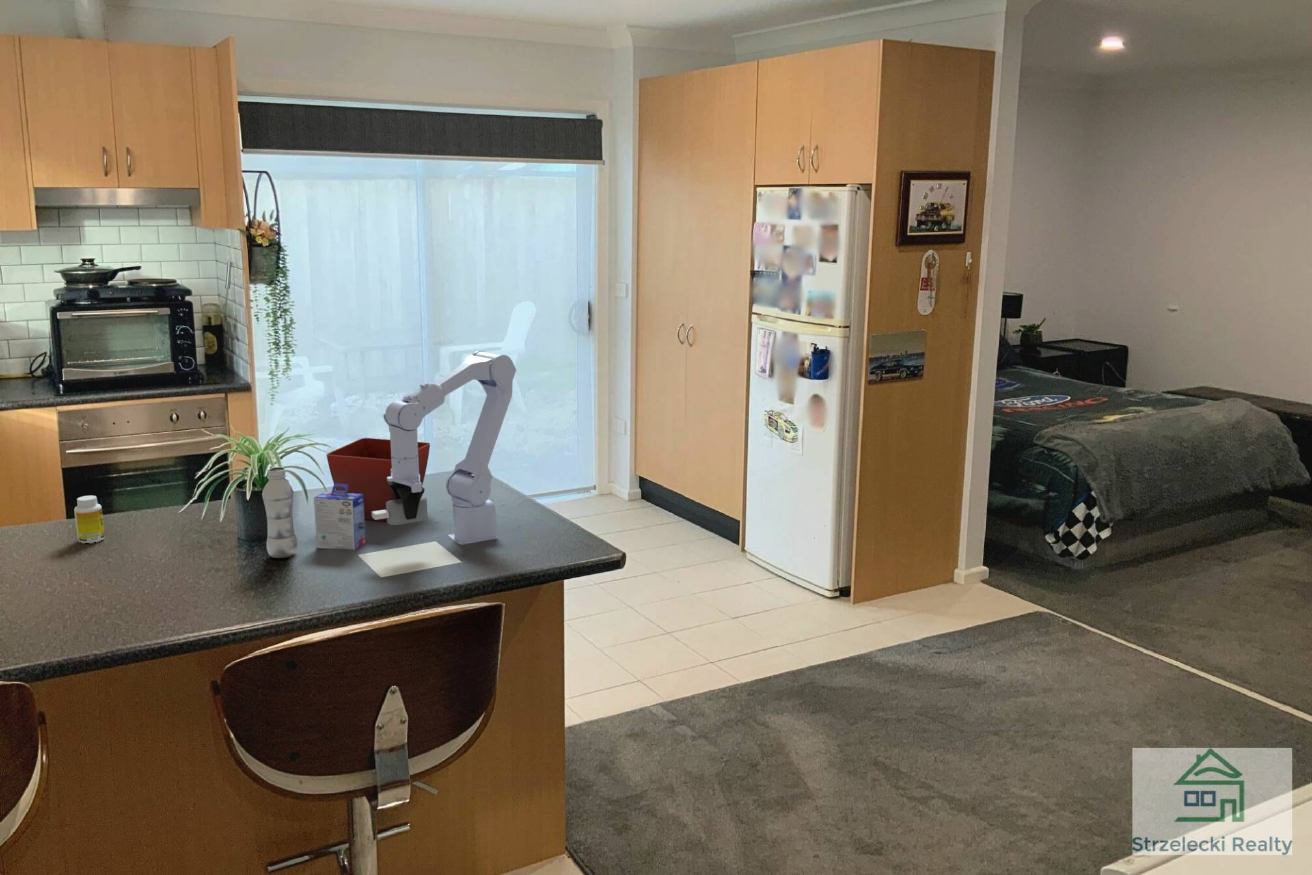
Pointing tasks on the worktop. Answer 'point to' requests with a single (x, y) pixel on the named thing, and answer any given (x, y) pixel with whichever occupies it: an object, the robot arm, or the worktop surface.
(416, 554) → the mat
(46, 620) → the worktop surface
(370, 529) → the worktop surface
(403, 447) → the robot arm
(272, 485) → the plastic bottle
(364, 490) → the plant pot
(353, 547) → the ink cartridge box
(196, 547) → the worktop surface
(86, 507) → the supplement bottle
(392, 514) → the plug
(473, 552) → the worktop surface
